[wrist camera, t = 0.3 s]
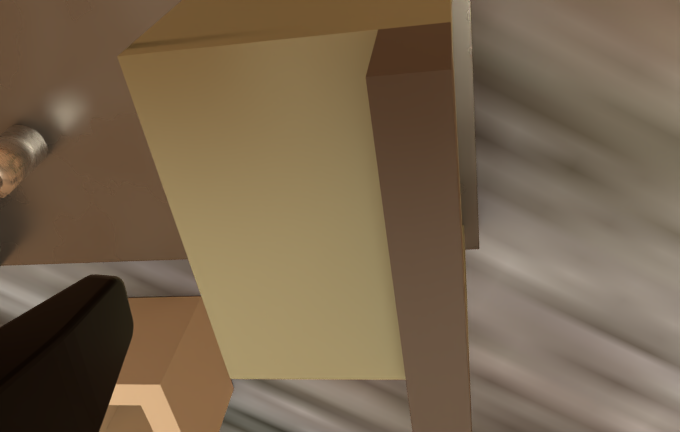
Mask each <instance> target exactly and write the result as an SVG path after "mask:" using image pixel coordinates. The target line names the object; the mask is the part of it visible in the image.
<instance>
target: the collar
mask: <svg viewBox="0 0 680 432" xmlns="http://www.w3.org/2000/svg"><path fill="white" fill-rule="evenodd" d="M128 301H129V305H130V309H131V313H132V317H133V322H134V329H133V336H132V340H131V343H130V345H129V348H128V351H127V354H126V357H125V360H124V363H123V365H122V368H121V371H120V374H119V377H118V380H117V383H116V386H115V388H114V391H113V394H112V397H111V400H110V403H109V406H108V409H107V411H106V414H105V417H104V420H103V423H102V425H101V428H100V431H99V432H219V430H220V427H221V424H222V422H223V419H224V416H225V413H226V410H227V407H228V404H229V401H230V398H231V396H232V393H233V390H234V388H233V385H232V382H231V379H230V377H229V374H228V371H227V368H226V365H225V362H224V360H223V357H222V354H221V351H220V348H219V345H218V342H217V340H216V337H215V334H214V331H213V328H212V325H211V322H210V320H209V317H208V314H207V311H206V308H205V305H204V303H203V300H202V297H201V296H193V297H149V298H128Z"/></svg>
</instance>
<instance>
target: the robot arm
mask: <svg viewBox="0 0 680 432" xmlns="http://www.w3.org/2000/svg"><path fill="white" fill-rule="evenodd" d="M133 329H134V322H133V317H132V313H131V309H130V305H129V301H128V297H127V293H126V288H125V285H124V282H123V281H122V280H121V279H120V278H119V277H116V276H107V275H97V274H95V275H89V276H87V277H85V278H83V279H81V280H80V281H78V282H76V283H75V284H73V285H71V286H69V287H68V288H66V289H64V290H63V291H61V292H59V293H58V294H56V295H54V296H52V297H51V298H49V299H47V300H46V301H44V302H42V303H41V304H39V305H37V306H35V307H34V308H32V309H30V310H29V311H27V312H25V313H24V314H22V315H20V316H19V317H17V318H15V319H13V320H12V321H10V322H8V323H7V324H5V325H3V326H2V327H0V432H99V431H100V428H101V425H102V423H103V420H104V417H105V414H106V411H107V409H108V406H109V403H110V400H111V397H112V394H113V391H114V388H115V386H116V383H117V380H118V377H119V374H120V371H121V368H122V365H123V363H124V360H125V357H126V354H127V351H128V348H129V345H130V343H131V340H132V336H133Z"/></svg>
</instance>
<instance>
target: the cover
mask: <svg viewBox="0 0 680 432" xmlns="http://www.w3.org/2000/svg"><path fill="white" fill-rule="evenodd" d="M117 57H118V60H119V63H120V66H121V69H122V72H123V75H124V77H125V80H126V83H127V86H128V89H129V92H130V94H131V97H132V100H133V103H134V106H135V109H136V112H137V114H138V117H139V120H140V123H141V126H142V129H143V132H144V134H145V137H146V140H147V143H148V146H149V149H150V151H151V154H152V157H153V160H154V163H155V166H156V169H157V171H158V174H159V177H160V180H161V183H162V186H163V189H164V191H165V194H166V197H167V200H168V203H169V206H170V208H171V211H172V214H173V217H174V220H175V223H176V226H177V228H178V231H179V234H180V237H181V240H182V243H183V246H184V248H185V251H186V254H187V257H188V260H189V263H190V265H191V268H192V271H193V274H194V277H195V280H196V283H197V285H198V288H199V291H200V294H201V297H202V300H203V303H204V305H205V308H206V311H207V314H208V317H209V320H210V322H211V325H212V328H213V331H214V334H215V337H216V340H217V342H218V345H219V348H220V351H221V354H222V357H223V360H224V362H225V365H226V368H227V371H228V374H229V377H230V379H373V380H406V385H407V392H408V400H409V407H410V415H411V422H412V430H413V432H472V422H471V395H470V368H469V342H468V315H467V288H466V261H465V236H464V225H462V215H461V196H460V177H459V158H458V139H457V121H456V102H455V83H454V64H453V41H452V0H182V1H181V2H179V3H178V4H177V5H176V6H175V7H174V8H173V9H171V10H170V11H169V12H168V13H167V14H166V15H164V16H163V17H162V18H161V19H160V20H159V21H157V22H156V23H155V24H154V25H153V26H152V27H151V28H149V29H148V30H147V31H146V32H145V33H144V34H142V35H141V36H140V37H139V38H138V39H137V40H135V41H134V42H133V43H132V44H131V45H130V46H129V47H127V48H126V49H125V50H124V51H123V52H122V53H120V54H119V55H118V56H117Z"/></svg>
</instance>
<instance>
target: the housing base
mask: <svg viewBox="0 0 680 432" xmlns="http://www.w3.org/2000/svg"><path fill="white" fill-rule="evenodd" d="M181 1H182V0H0V266H4V265H32V264H61V263H90V262H119V261H148V260H176V259H188V257H187V254H186V251H185V248H184V246H183V243H182V240H181V237H180V234H179V231H178V228H177V226H176V223H175V220H174V217H173V214H172V211H171V208H170V206H169V203H168V200H167V197H166V194H165V191H164V189H163V186H162V183H161V180H160V177H159V174H158V171H157V169H156V166H155V163H154V160H153V157H152V154H151V151H150V149H149V146H148V143H147V140H146V137H145V134H144V132H143V129H142V126H141V123H140V120H139V117H138V114H137V112H136V109H135V106H134V103H133V100H132V97H131V94H130V92H129V89H128V86H127V83H126V80H125V77H124V75H123V72H122V69H121V66H120V63H119V60H118V57H117V56H118V55H119V54H120V53H122V52H123V51H124V50H125V49H126V48H127V47H129V46H130V45H131V44H132V43H133V42H134V41H135V40H137V39H138V38H139V37H140V36H141V35H142V34H144V33H145V32H146V31H147V30H148V29H149V28H151V27H152V26H153V25H154V24H155V23H156V22H157V21H159V20H160V19H161V18H162V17H163V16H164V15H166V14H167V13H168V12H169V11H170V10H171V9H173V8H174V7H175V6H176V5H177V4H178V3H179V2H181ZM452 41H453V64H454V83H455V102H456V121H457V139H458V158H459V177H460V196H461V215H462V225H464V236H465V249H479V228H478V200H477V173H476V145H475V117H474V89H473V62H472V34H471V6H470V0H452Z"/></svg>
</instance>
